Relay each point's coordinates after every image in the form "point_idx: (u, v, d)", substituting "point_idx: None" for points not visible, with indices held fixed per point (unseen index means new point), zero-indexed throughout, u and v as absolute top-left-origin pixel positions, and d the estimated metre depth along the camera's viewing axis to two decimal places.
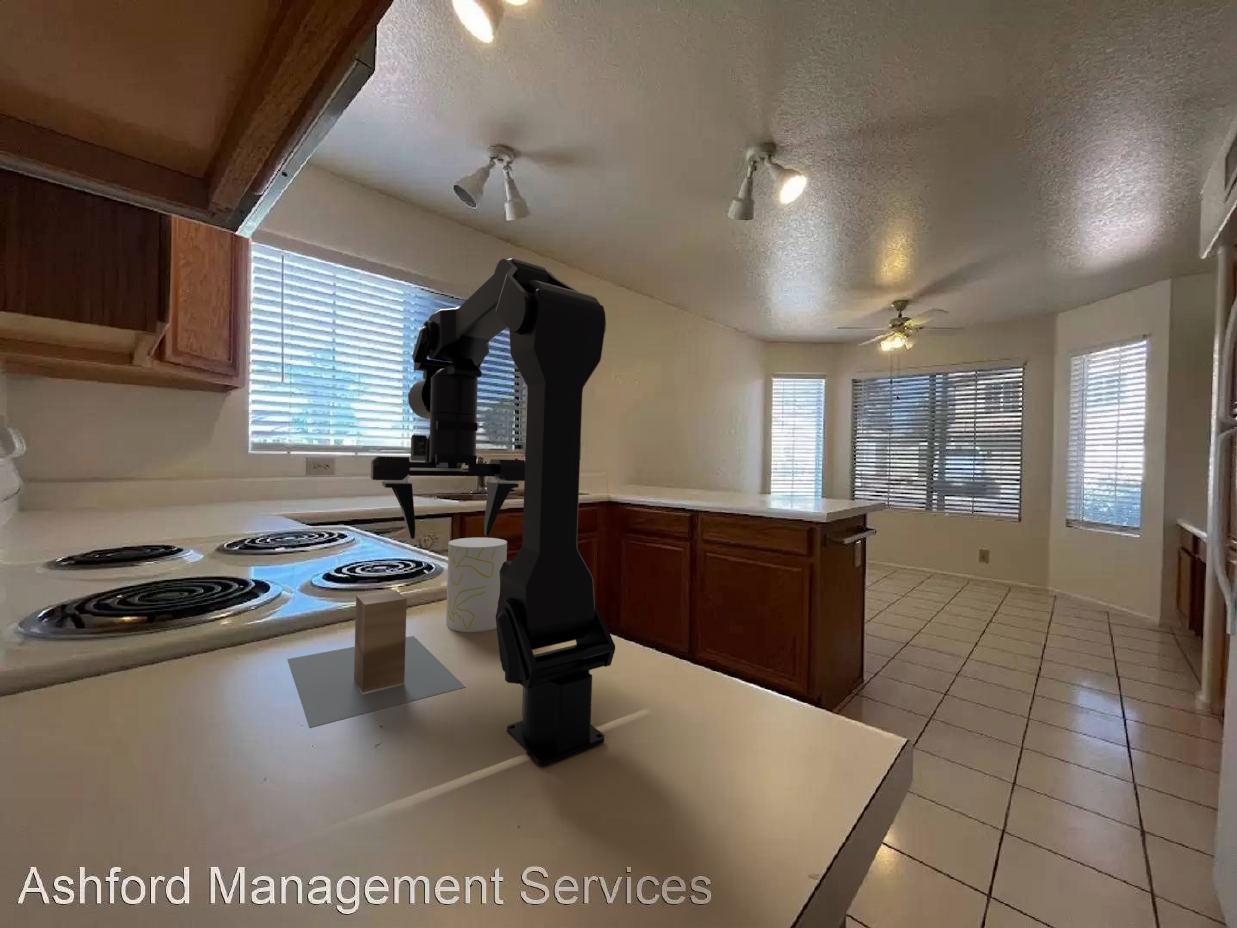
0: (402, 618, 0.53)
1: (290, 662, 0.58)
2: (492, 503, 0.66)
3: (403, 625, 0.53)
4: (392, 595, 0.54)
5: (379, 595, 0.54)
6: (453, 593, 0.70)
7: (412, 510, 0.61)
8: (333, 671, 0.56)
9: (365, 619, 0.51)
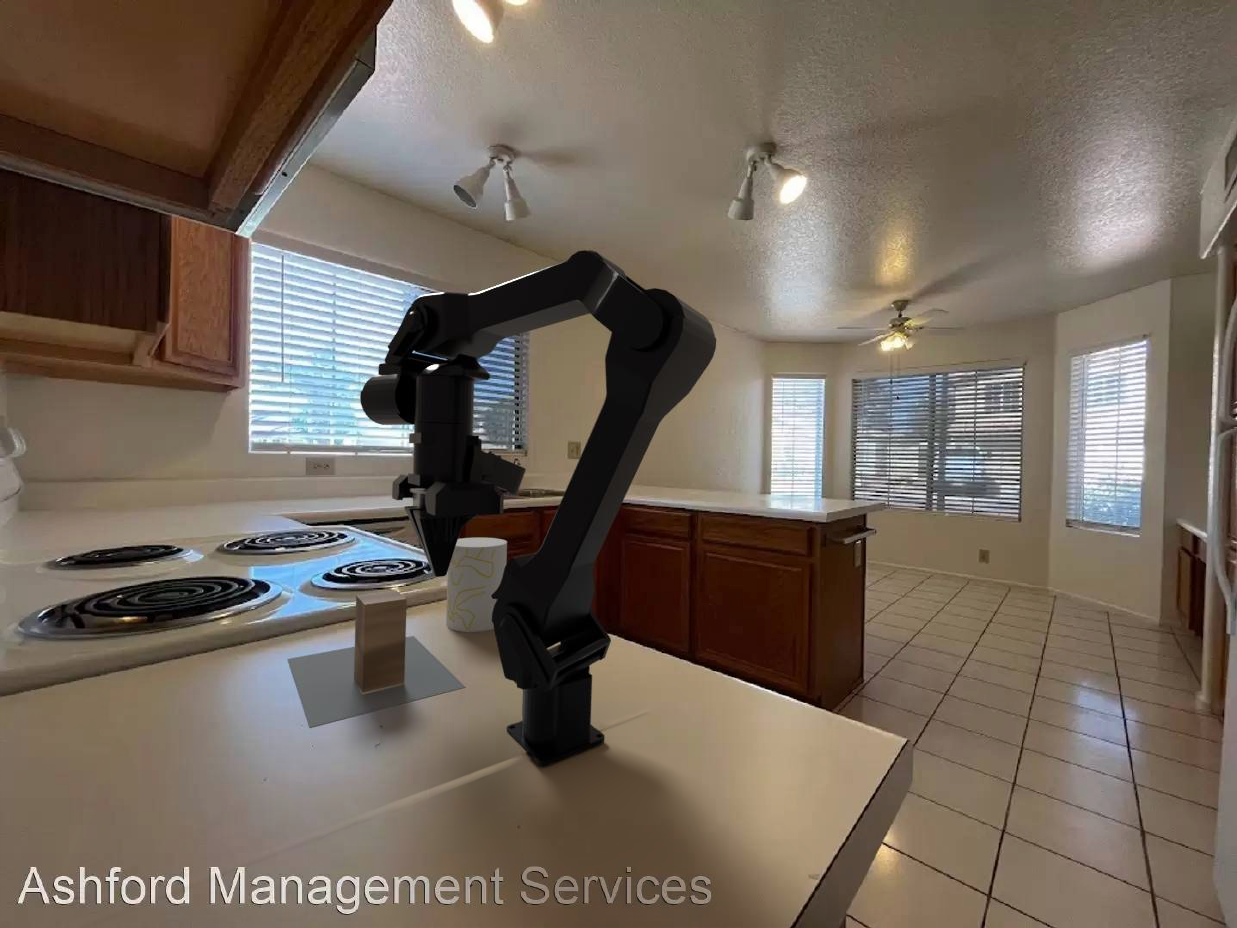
0: (402, 618, 0.53)
1: (290, 662, 0.58)
2: None
3: (403, 625, 0.53)
4: (392, 595, 0.54)
5: (379, 595, 0.54)
6: (453, 593, 0.70)
7: (421, 541, 0.52)
8: (333, 671, 0.56)
9: (365, 619, 0.51)
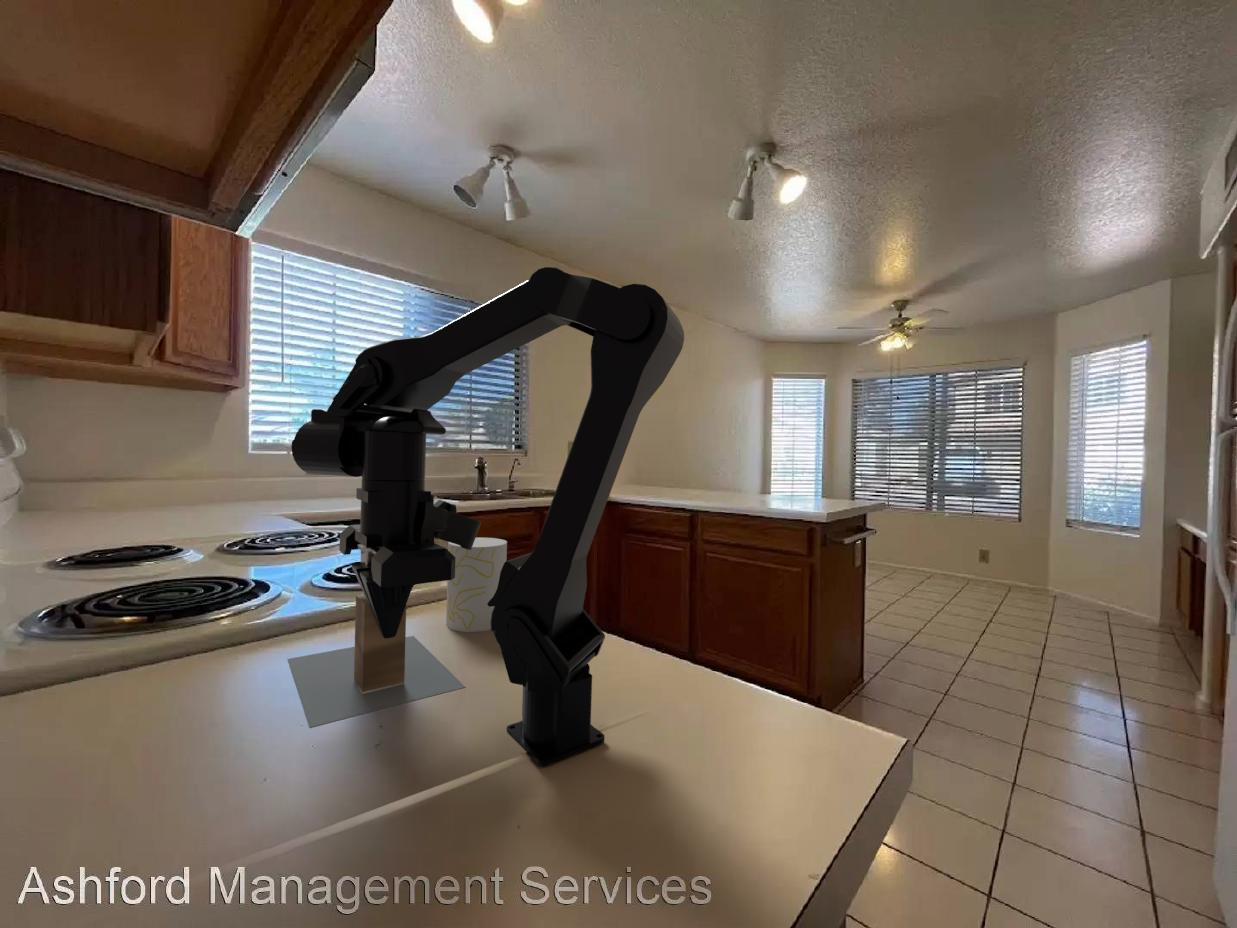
0: (402, 617, 0.53)
1: (290, 662, 0.58)
2: None
3: (403, 624, 0.53)
4: None
5: None
6: (453, 593, 0.70)
7: (368, 601, 0.50)
8: (333, 671, 0.56)
9: (365, 618, 0.51)
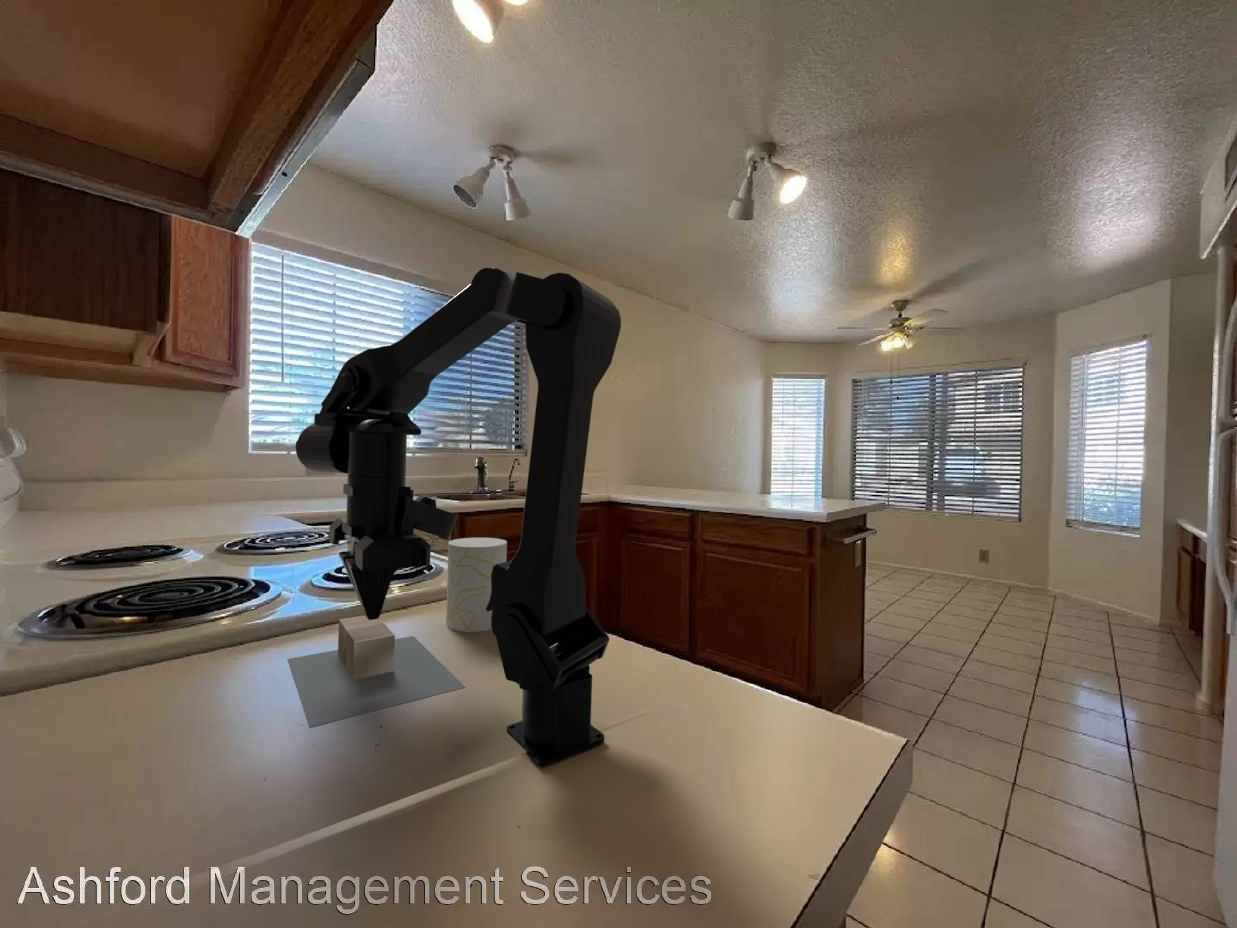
0: None
1: (290, 662, 0.58)
2: None
3: (378, 619, 0.61)
4: None
5: None
6: (453, 593, 0.70)
7: (354, 586, 0.55)
8: (333, 671, 0.56)
9: (342, 622, 0.60)
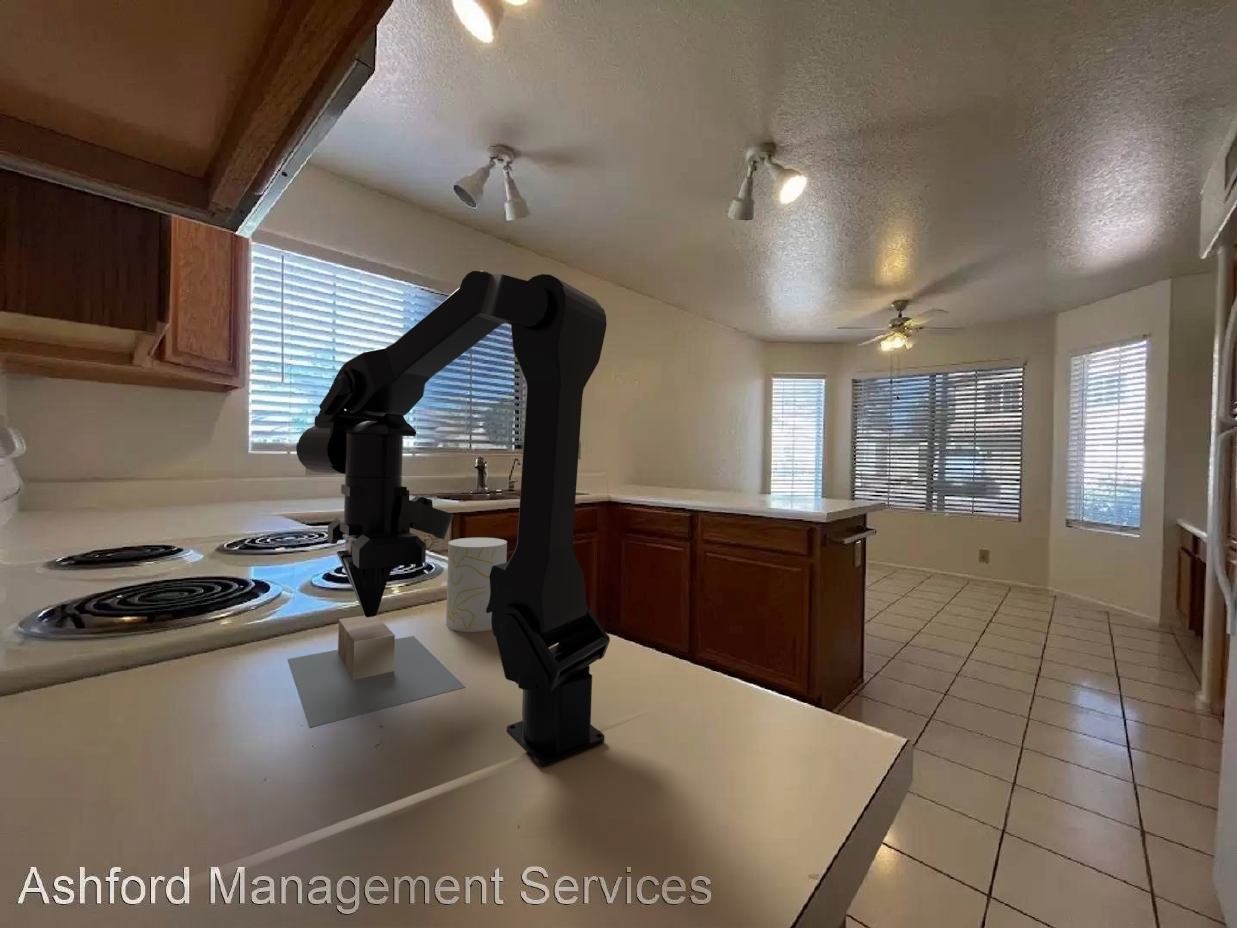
0: (375, 618, 0.62)
1: (290, 662, 0.58)
2: None
3: (378, 619, 0.61)
4: None
5: None
6: (453, 593, 0.70)
7: (352, 584, 0.56)
8: (333, 671, 0.56)
9: (342, 622, 0.60)
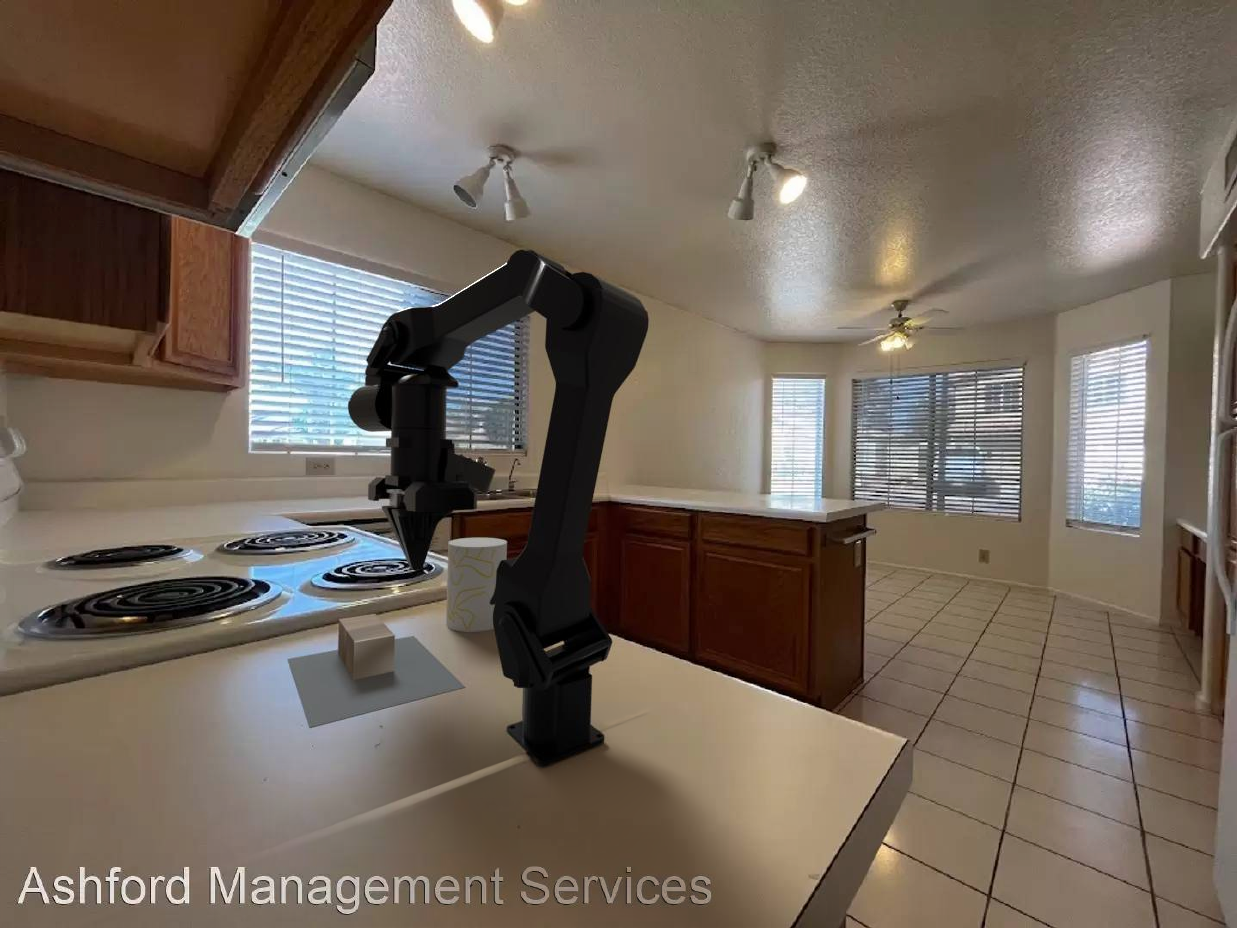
0: (375, 618, 0.62)
1: (290, 662, 0.58)
2: None
3: (378, 619, 0.61)
4: None
5: None
6: (453, 593, 0.70)
7: (398, 537, 0.56)
8: (333, 671, 0.56)
9: (342, 622, 0.60)
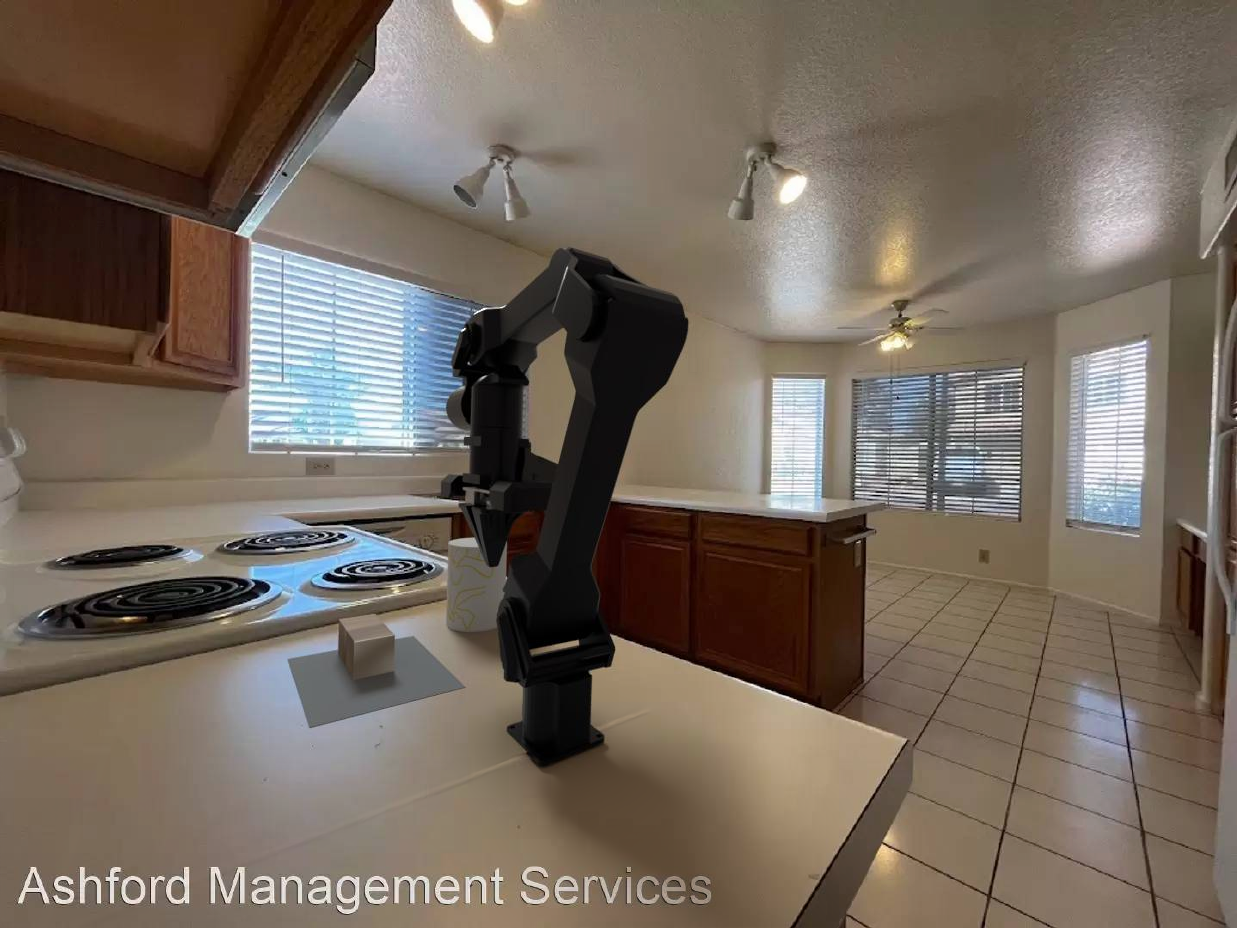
0: (375, 618, 0.62)
1: (290, 662, 0.58)
2: None
3: (378, 619, 0.61)
4: None
5: None
6: (453, 593, 0.70)
7: (476, 534, 0.57)
8: (333, 671, 0.56)
9: (342, 622, 0.60)
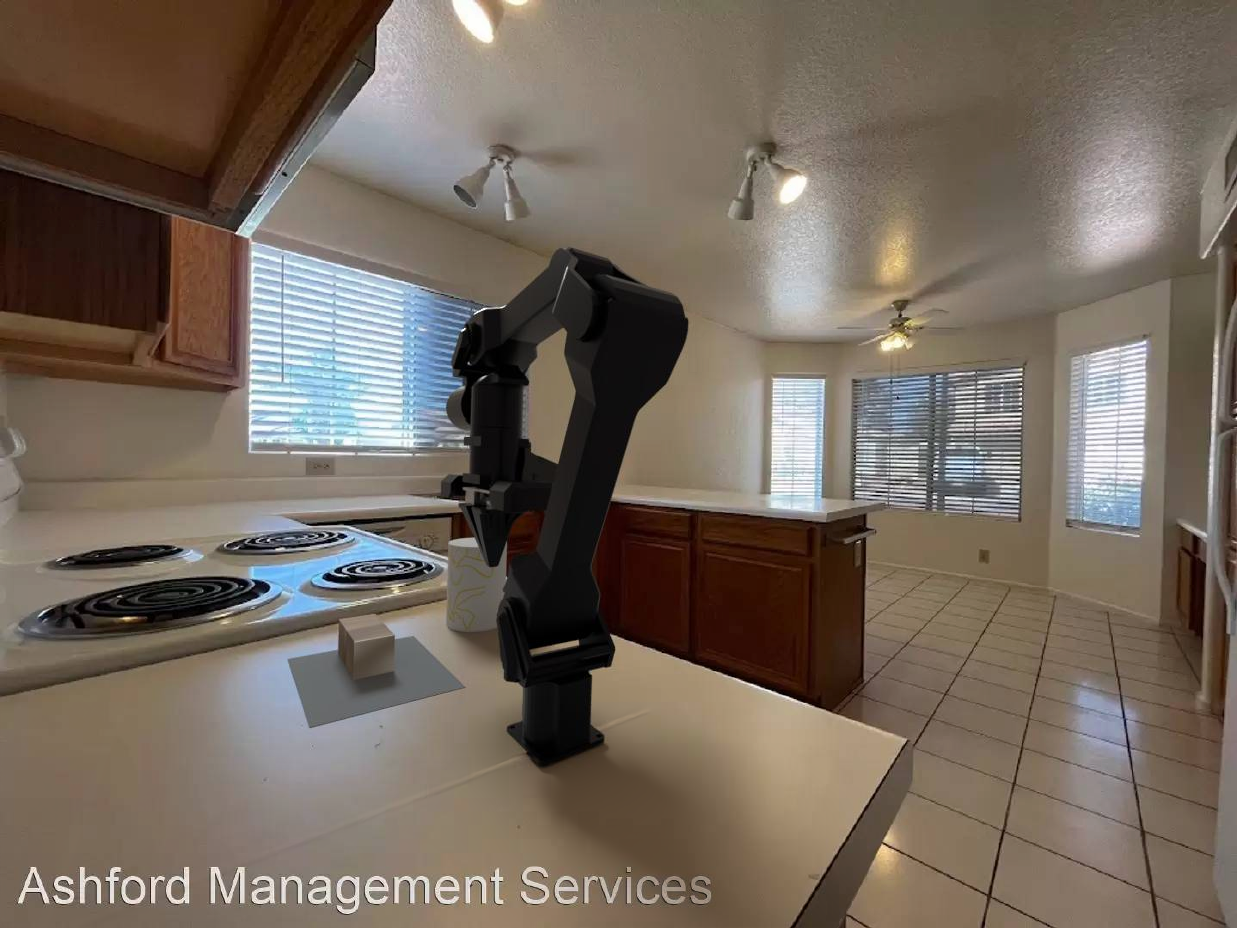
0: (375, 618, 0.62)
1: (290, 662, 0.58)
2: None
3: (378, 619, 0.61)
4: None
5: None
6: (453, 593, 0.70)
7: (476, 534, 0.57)
8: (333, 671, 0.56)
9: (342, 622, 0.60)
